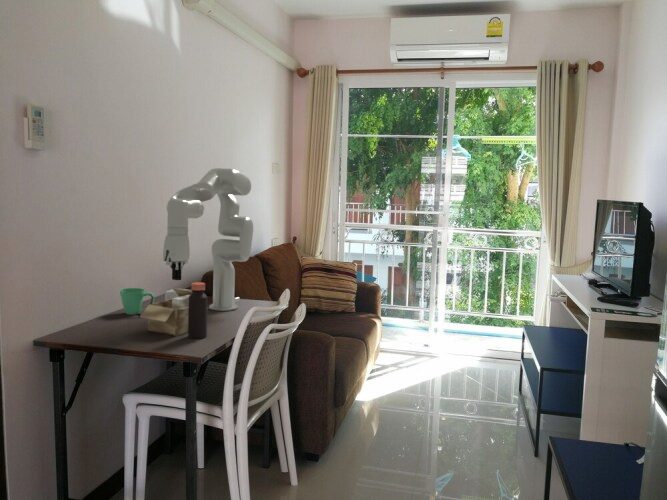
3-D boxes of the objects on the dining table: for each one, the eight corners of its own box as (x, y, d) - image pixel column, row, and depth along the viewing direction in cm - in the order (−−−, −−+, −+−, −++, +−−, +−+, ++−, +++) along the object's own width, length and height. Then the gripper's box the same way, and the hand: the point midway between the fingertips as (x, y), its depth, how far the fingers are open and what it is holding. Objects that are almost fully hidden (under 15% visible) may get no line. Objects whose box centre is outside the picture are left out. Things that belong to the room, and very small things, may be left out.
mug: (115, 315, 232) (115, 291, 231) (126, 310, 242) (126, 287, 241) (149, 317, 231) (150, 293, 230) (159, 312, 241) (159, 289, 240)
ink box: (183, 320, 228) (183, 293, 227) (164, 319, 230) (164, 291, 228) (192, 316, 236) (192, 289, 235) (173, 314, 238) (174, 287, 237)
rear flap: (179, 297, 224) (180, 296, 224) (203, 301, 218) (204, 300, 219) (172, 288, 220) (172, 287, 220) (196, 292, 214) (197, 291, 214)
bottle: (197, 333, 210) (198, 281, 208) (210, 336, 207) (211, 283, 205) (184, 336, 205) (184, 283, 202) (197, 340, 201) (198, 285, 199)
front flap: (139, 316, 206) (140, 317, 206) (164, 321, 200) (165, 322, 200) (149, 304, 209) (149, 305, 210) (174, 308, 204) (174, 309, 204)
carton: (176, 321, 226) (176, 289, 224) (205, 327, 219) (206, 294, 217) (147, 330, 211) (147, 296, 210) (177, 336, 205) (177, 301, 203)
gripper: (183, 230, 219) (182, 276, 221) (155, 232, 206) (154, 280, 207) (198, 232, 216) (197, 278, 217) (171, 233, 202) (170, 283, 204)
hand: (176, 279), depth 212 cm, fingers closed
